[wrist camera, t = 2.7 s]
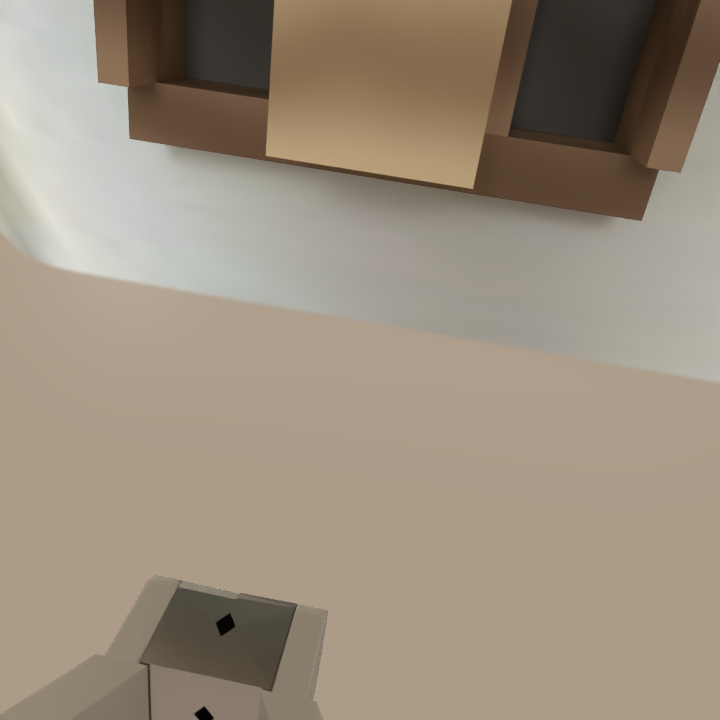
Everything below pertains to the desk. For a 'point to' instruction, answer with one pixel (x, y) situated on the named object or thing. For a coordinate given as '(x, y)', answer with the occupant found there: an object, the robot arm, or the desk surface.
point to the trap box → (508, 105)
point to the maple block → (385, 84)
